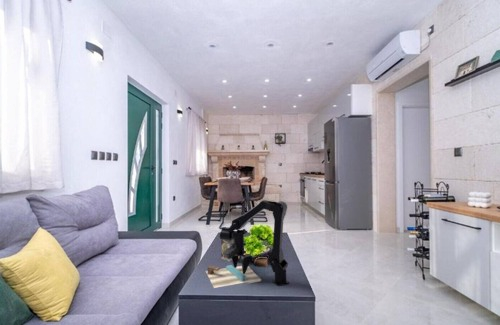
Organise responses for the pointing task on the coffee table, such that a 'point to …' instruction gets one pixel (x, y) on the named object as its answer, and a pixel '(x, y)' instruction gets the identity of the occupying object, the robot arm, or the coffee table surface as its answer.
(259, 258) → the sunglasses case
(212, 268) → the keeper
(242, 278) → the link bar
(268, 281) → the coffee table surface
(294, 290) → the coffee table surface
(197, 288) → the coffee table surface
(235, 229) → the robot arm
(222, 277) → the base board
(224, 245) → the coffee box
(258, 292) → the coffee table surface
